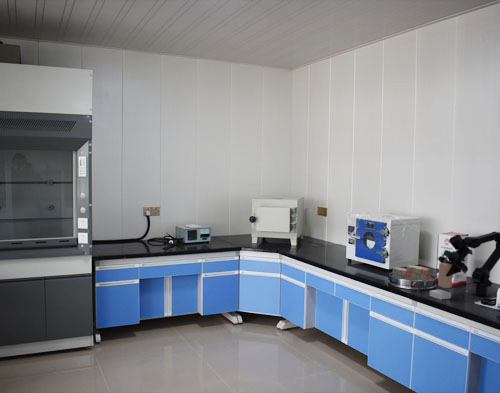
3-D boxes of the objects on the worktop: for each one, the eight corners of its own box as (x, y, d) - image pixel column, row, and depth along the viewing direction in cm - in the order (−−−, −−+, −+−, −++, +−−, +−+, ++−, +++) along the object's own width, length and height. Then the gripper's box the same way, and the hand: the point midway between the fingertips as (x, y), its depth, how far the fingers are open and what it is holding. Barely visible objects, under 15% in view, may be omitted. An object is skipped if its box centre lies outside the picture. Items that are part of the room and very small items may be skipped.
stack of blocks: (391, 282, 287) (392, 263, 286) (396, 281, 292) (396, 262, 291) (425, 289, 273) (426, 269, 272) (429, 287, 278) (430, 268, 277)
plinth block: (439, 294, 263) (439, 289, 263) (450, 298, 256) (451, 292, 256) (429, 295, 260) (429, 290, 260) (440, 299, 253) (441, 294, 252)
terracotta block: (445, 284, 258) (446, 262, 257) (451, 287, 254) (452, 264, 252) (437, 285, 257) (439, 263, 256) (443, 287, 252) (445, 265, 251)
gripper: (441, 242, 263) (424, 261, 261) (464, 248, 246) (447, 269, 243) (451, 255, 266) (435, 274, 264) (475, 262, 248) (458, 282, 246)
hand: (443, 274), depth 254 cm, fingers closed on terracotta block, 5 cm apart
